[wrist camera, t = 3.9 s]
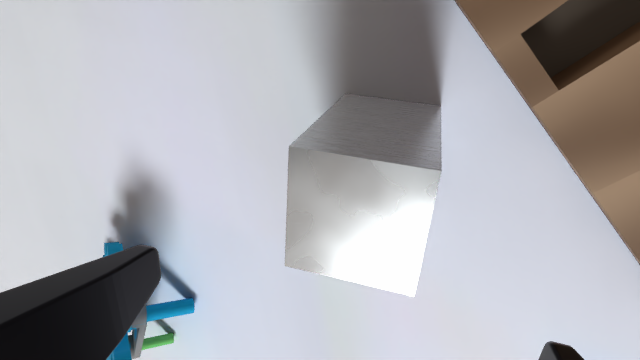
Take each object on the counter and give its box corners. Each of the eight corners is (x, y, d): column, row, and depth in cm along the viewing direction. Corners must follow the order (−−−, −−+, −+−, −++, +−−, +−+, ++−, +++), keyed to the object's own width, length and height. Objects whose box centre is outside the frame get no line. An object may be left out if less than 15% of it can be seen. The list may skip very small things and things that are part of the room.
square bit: (337, 177, 21) (284, 265, 14) (345, 93, 19) (289, 146, 12) (423, 192, 20) (414, 296, 13) (441, 105, 18) (441, 171, 11)
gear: (95, 209, 24) (103, 367, 18) (191, 205, 28) (225, 338, 22) (91, 303, 31) (96, 441, 25) (169, 291, 34) (191, 411, 28)
